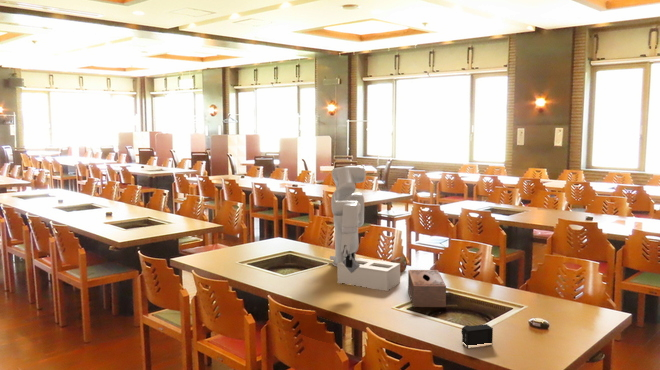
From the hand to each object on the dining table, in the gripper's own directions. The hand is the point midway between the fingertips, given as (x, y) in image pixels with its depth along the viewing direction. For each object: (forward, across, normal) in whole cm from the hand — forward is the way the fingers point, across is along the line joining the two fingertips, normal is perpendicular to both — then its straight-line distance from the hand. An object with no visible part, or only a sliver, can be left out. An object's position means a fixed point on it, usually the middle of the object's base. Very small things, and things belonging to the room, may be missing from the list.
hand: (350, 266), depth 269 cm
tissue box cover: (+14, -11, +34) cm, 39 cm away
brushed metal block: (+1, 0, +3) cm, 3 cm away
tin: (+15, -43, +6) cm, 46 cm away
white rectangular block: (+14, -19, 0) cm, 24 cm away
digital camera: (+12, +30, +70) cm, 77 cm away
